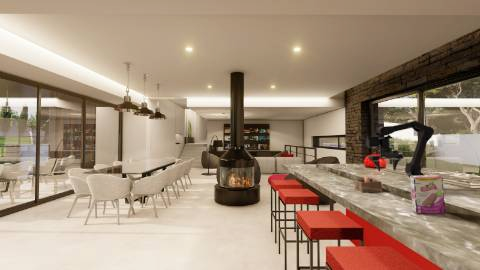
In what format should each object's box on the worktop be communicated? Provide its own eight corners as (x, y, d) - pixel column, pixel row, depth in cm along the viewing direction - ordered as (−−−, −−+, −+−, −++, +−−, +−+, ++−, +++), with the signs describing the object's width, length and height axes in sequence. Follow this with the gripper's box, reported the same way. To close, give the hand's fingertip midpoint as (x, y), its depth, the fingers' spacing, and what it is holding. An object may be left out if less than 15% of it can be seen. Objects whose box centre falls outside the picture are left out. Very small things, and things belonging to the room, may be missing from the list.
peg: (366, 189, 167) (365, 177, 167) (371, 189, 165) (370, 177, 165) (364, 190, 165) (363, 177, 165) (370, 190, 163) (369, 178, 163)
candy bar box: (416, 214, 112) (413, 177, 113) (412, 211, 117) (409, 175, 117) (446, 214, 109) (442, 176, 110) (440, 211, 114) (437, 174, 114)
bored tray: (355, 188, 171) (354, 179, 171) (373, 187, 170) (372, 178, 170) (362, 192, 159) (361, 182, 159) (382, 191, 158) (381, 181, 158)
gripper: (375, 147, 154) (377, 173, 153) (407, 145, 152) (409, 171, 152) (367, 147, 165) (369, 171, 165) (397, 145, 163) (399, 169, 163)
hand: (386, 170), depth 161 cm, fingers open, 9 cm apart
